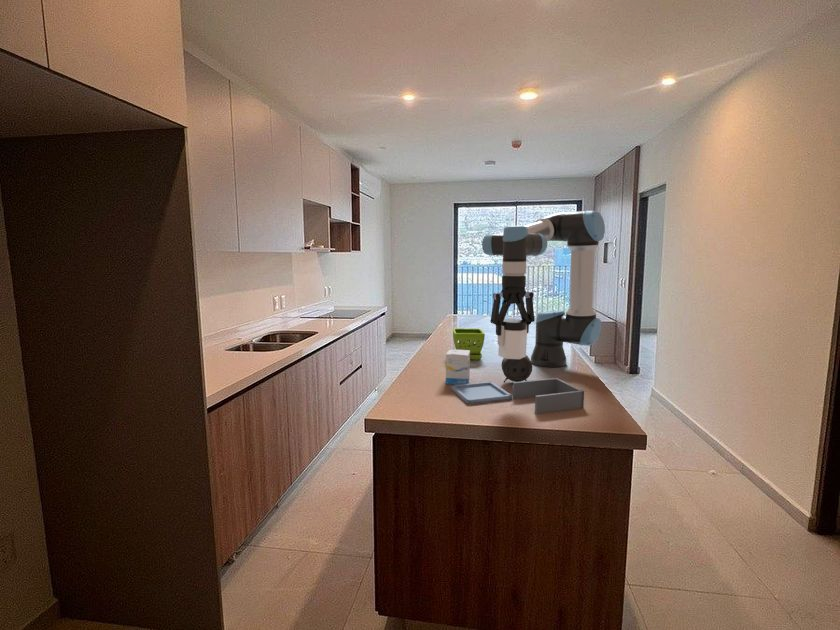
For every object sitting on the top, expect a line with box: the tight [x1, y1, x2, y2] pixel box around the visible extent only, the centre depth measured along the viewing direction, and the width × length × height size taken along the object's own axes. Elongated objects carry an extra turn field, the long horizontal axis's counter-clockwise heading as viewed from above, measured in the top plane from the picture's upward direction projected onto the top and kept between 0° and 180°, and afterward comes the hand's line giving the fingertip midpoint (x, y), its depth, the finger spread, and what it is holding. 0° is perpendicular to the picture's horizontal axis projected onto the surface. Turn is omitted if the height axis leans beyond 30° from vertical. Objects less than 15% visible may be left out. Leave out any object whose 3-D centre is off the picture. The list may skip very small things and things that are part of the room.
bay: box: [512, 377, 585, 415], centre depth 142 cm, size 17×15×6 cm
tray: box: [450, 381, 513, 406], centre depth 151 cm, size 16×16×2 cm
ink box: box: [445, 348, 471, 385], centre depth 164 cm, size 9×8×12 cm
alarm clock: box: [501, 354, 533, 383], centre depth 161 cm, size 11×5×16 cm, turn 86°
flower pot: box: [452, 327, 486, 361], centre depth 201 cm, size 14×14×13 cm
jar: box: [497, 318, 528, 359], centre depth 143 cm, size 9×8×12 cm
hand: (512, 343), depth 143 cm, fingers closed on jar, 8 cm apart
